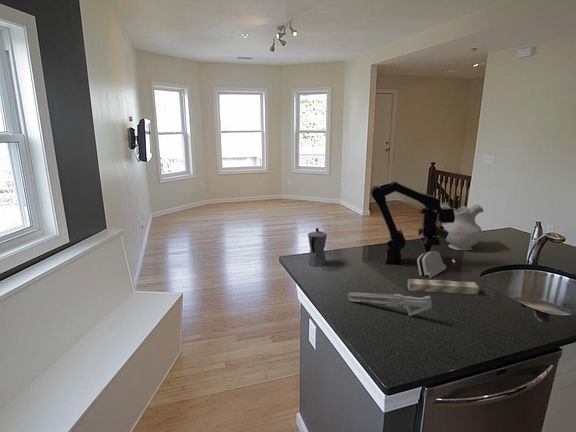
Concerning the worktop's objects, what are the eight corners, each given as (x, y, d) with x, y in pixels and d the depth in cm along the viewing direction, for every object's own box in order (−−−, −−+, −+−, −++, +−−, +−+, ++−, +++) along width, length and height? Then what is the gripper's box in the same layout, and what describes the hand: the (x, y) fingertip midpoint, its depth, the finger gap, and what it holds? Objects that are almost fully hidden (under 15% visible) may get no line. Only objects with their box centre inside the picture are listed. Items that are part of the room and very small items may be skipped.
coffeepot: (311, 257, 181) (311, 224, 177) (329, 259, 178) (329, 225, 174) (302, 268, 167) (302, 232, 163) (321, 271, 164) (322, 234, 160)
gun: (432, 318, 119) (429, 297, 118) (349, 311, 136) (346, 292, 134) (433, 316, 121) (430, 295, 120) (351, 309, 137) (348, 290, 136)
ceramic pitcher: (439, 253, 188) (444, 208, 180) (433, 239, 206) (437, 198, 199) (483, 255, 184) (491, 210, 176) (473, 241, 202) (479, 199, 194)
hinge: (430, 278, 154) (424, 256, 155) (420, 278, 158) (414, 257, 158) (446, 268, 165) (441, 247, 165) (437, 268, 169) (432, 248, 169)
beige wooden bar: (409, 290, 143) (410, 283, 142) (407, 285, 148) (408, 278, 147) (478, 294, 139) (479, 286, 138) (474, 289, 143) (474, 281, 143)
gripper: (453, 228, 156) (450, 261, 160) (442, 217, 174) (439, 247, 178) (427, 227, 158) (424, 260, 162) (418, 217, 176) (416, 247, 180)
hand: (427, 253), depth 170 cm, fingers closed
